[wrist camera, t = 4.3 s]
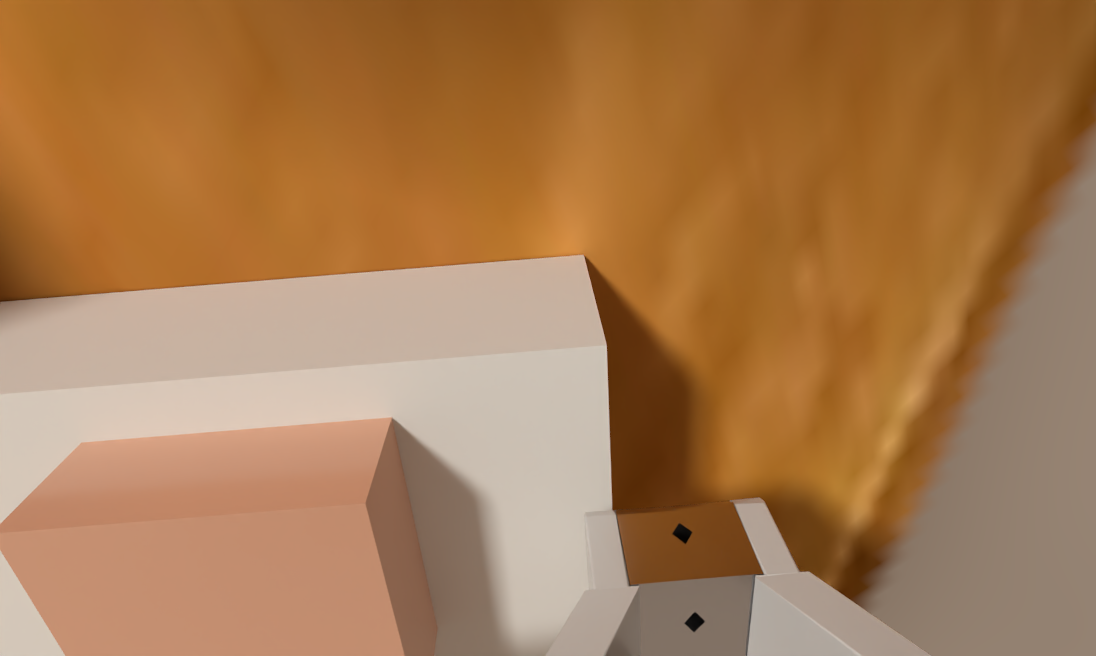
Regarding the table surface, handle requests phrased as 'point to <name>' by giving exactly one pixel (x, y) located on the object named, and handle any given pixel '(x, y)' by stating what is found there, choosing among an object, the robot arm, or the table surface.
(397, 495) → the tile
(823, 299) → the table surface
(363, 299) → the raised plate
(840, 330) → the table surface
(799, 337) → the table surface
